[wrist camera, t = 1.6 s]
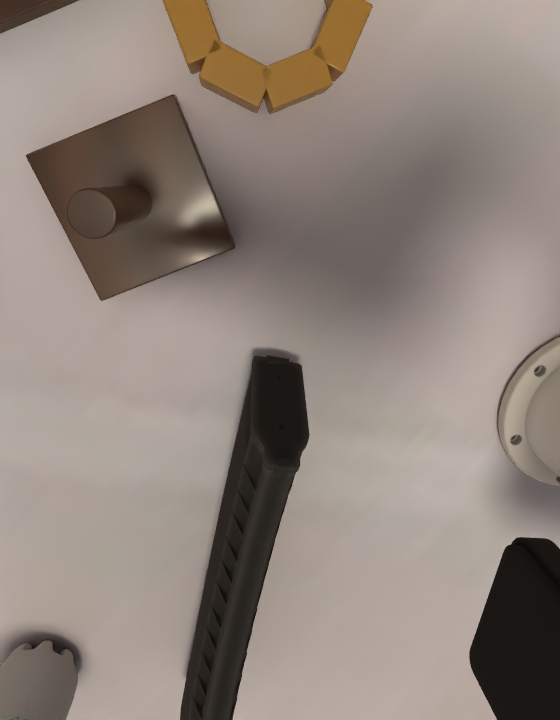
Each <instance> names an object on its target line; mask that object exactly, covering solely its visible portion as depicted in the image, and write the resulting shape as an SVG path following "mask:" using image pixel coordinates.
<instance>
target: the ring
mask: <svg viewBox="0 0 560 720" xmlns="http://www.w3.org/2000/svg"><path fill="white" fill-rule="evenodd" d="M163 2H164V5H165V8H166V10H167V13H168V16H169V18H170V21H171V23H172V26H173V29H174V31H175V34H176V36H177V39H178V42H179V44H180V47H181V49H182V52H183V54H184V57H185V60H186V62H187V65H188V67H189V70H190V73H192V74H193V73H195V72H198V71H200V70H201V72H200V74H199V78H200V82H201V85H202V86H203V87H205V88H207V89H209V90H211V91H213V92H215V93H217V94H219V95H221V96H223V97H225V98H227V99H229V100H231V101H233V102H235V103H237V104H239V105H241V106H243V107H245V108H247V109H248V110H250V111H252V112H254V113H257V112H258V109H259V107H260V104H261V102H262V99H263V97H264V99H265V102H266V105H267V108H268V111H269V114H272V113H274V112H277V111H279V110H282V109H284V108H287V107H289V106H291V105H294V104H296V103H299V102H301V101H304V100H306V99H309V98H311V97H314V96H316V95H318V94H321V93H323V92H325V91H326V90H327V89H328V88H329V87H330V86H331V85H332V84H333V83H332V81H335V80H336V79H337V78H339V77H340V76H341V75H342V74H343V73H344V71H345V69H346V67H347V64H348V62H349V60H350V57H351V55H352V53H353V51H354V48H355V46H356V44H357V41H358V39H359V37H360V34H361V32H362V30H363V28H364V25H365V23H366V21H367V18H368V16H369V14H370V11H371V9H372V4H370V3H368V2H367V1H365V0H325V4H326V7H327V11H326V13H325V15H324V18H323V20H322V23H321V25H320V28H319V30H318V32H317V35H316V37H315V40H314V42H313V45H312V47H311V49H308V50H306V51H303V52H301V53H298V54H296V55H294V56H291V57H289V58H286V59H284V60H281V61H279V62H276V63H274V64H272V65H269V66H265V65H263V64H261V63H259V62H257V61H255V60H254V59H252V58H250V57H248V56H246V55H244V54H242V53H240V52H239V51H237V50H235V49H233V48H231V47H229V46H227V45H225V44H223V43H222V42H220V40H219V37H218V34H217V32H216V29H215V26H214V23H213V20H212V18H211V15H210V12H209V9H208V7H207V4H206V1H205V0H163Z"/></svg>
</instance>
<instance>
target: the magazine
mask: <svg viewBox="0 0 560 720" xmlns="http://www.w3.org/2000/svg"><path fill="white" fill-rule="evenodd" d="M308 439H309V427H308V418H307V409H306V400H305V391H304V382H303V373H302V366H301V365H300V364H299V363H294V362H289V359H284V358H279V357H273V356H268V355H267V357H260V356H255V357H254V358H253V361H252V373H251V378H250V382H249V386H248V390H247V395H246V399H245V403H244V408H243V412H242V416H241V420H240V425H239V429H238V433H237V438H236V442H235V446H234V450H233V455H232V459H231V464H230V468H229V472H228V477H227V481H226V486H225V490H224V495H223V499H222V504H221V509H220V513H219V518H218V523H217V527H216V532H215V537H214V541H213V546H212V551H211V556H210V561H209V566H208V571H207V576H206V581H205V586H204V591H203V596H202V601H201V606H200V611H199V617H198V622H197V627H196V632H195V637H194V643H193V648H192V653H191V658H190V661H189V666H188V672H187V677H186V683H185V688H184V694H183V699H182V705H181V714H180V720H233V714H234V709H235V705H236V701H237V694H238V689H239V685H240V681H241V677H242V671H243V666H244V662H245V658H246V654H247V653H246V652H247V648H248V644H249V640H250V637H251V633H252V627H253V622H254V619H255V615H256V612H257V606H258V602H259V598H260V595H261V591H262V588H263V583H264V580H265V576H266V572H267V569H268V565H269V561H270V557H271V554H272V550H273V546H274V543H275V538H276V535H277V532H278V528H279V525H280V521H281V518H282V515H283V512H284V508H285V505H286V501H287V498H288V494H289V492H290V490H291V487H292V483H293V480H294V476H295V473H296V472H297V471H298V469H299V467H300V457H301V454H302V451H303V450H304V449H305V447H306V445H307V442H308Z"/></svg>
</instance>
